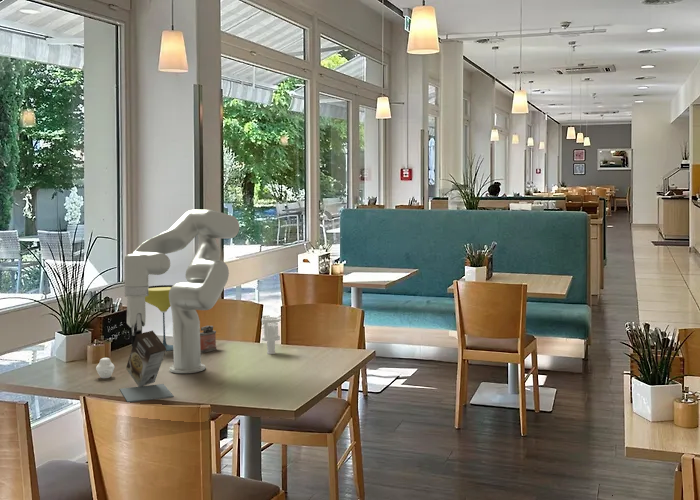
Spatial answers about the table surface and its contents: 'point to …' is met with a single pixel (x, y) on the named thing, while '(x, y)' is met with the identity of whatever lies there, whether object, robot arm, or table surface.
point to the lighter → (207, 339)
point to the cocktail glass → (160, 304)
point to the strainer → (270, 332)
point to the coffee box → (145, 358)
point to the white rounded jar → (105, 368)
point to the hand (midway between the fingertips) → (137, 347)
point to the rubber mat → (146, 393)
